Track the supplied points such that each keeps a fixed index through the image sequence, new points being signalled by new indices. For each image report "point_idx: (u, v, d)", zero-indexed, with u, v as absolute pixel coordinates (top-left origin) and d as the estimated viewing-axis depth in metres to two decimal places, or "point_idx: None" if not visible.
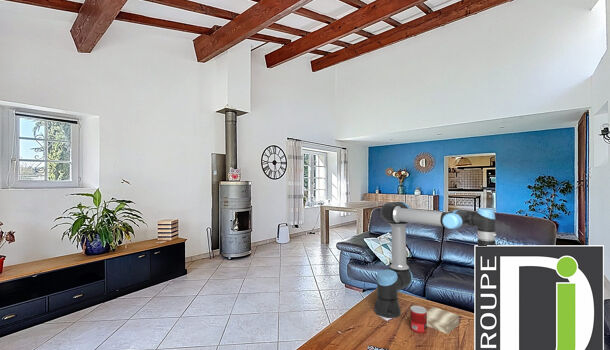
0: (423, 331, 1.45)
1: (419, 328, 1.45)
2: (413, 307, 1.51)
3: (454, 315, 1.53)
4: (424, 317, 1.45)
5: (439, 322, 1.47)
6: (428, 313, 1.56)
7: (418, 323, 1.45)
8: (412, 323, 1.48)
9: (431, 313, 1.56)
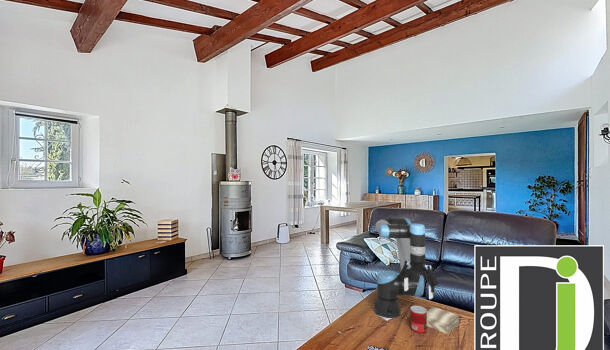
0: (423, 331, 1.45)
1: (419, 328, 1.45)
2: (413, 307, 1.51)
3: (454, 315, 1.53)
4: (424, 317, 1.45)
5: (439, 322, 1.47)
6: (428, 313, 1.56)
7: (418, 323, 1.45)
8: (412, 323, 1.48)
9: (431, 313, 1.56)
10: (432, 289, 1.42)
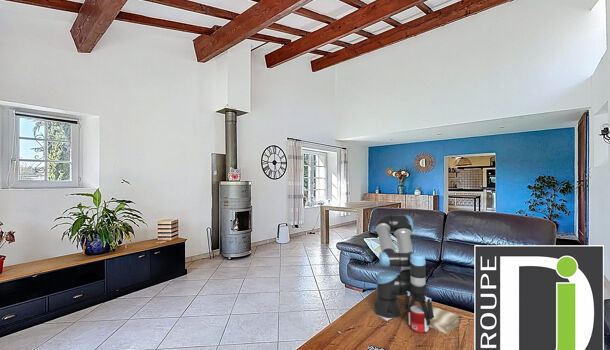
0: (423, 331, 1.45)
1: (418, 328, 1.45)
2: (413, 307, 1.51)
3: (454, 315, 1.53)
4: (424, 317, 1.45)
5: (439, 322, 1.47)
6: None
7: (418, 323, 1.45)
8: (412, 323, 1.48)
9: None
10: (428, 322, 1.44)
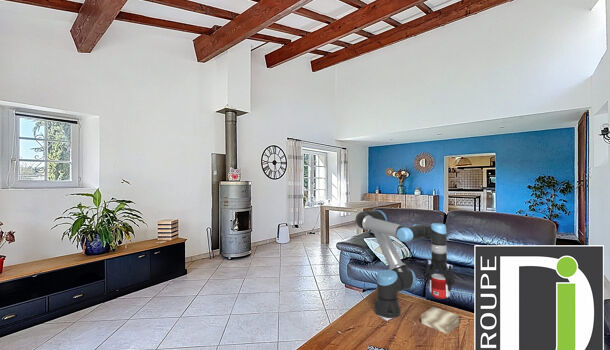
0: (444, 297, 1.51)
1: (440, 294, 1.51)
2: (434, 275, 1.56)
3: (454, 315, 1.53)
4: (445, 283, 1.51)
5: (439, 322, 1.47)
6: (428, 313, 1.56)
7: (439, 289, 1.51)
8: (433, 289, 1.53)
9: (431, 313, 1.56)
10: (449, 288, 1.50)
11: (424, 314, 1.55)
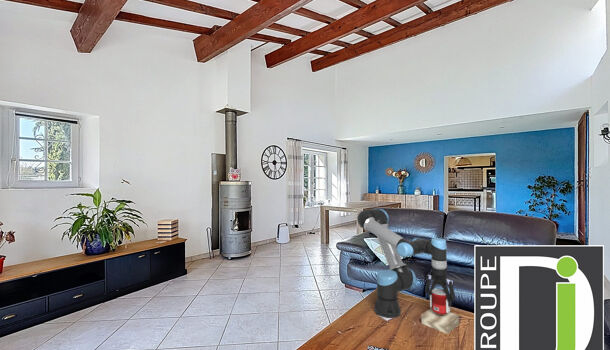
0: (445, 312, 1.50)
1: (440, 310, 1.51)
2: (434, 290, 1.56)
3: (454, 315, 1.53)
4: (446, 299, 1.51)
5: (439, 322, 1.47)
6: (428, 313, 1.56)
7: (439, 304, 1.51)
8: (434, 305, 1.53)
9: (431, 313, 1.56)
10: (449, 303, 1.50)
11: (424, 314, 1.55)
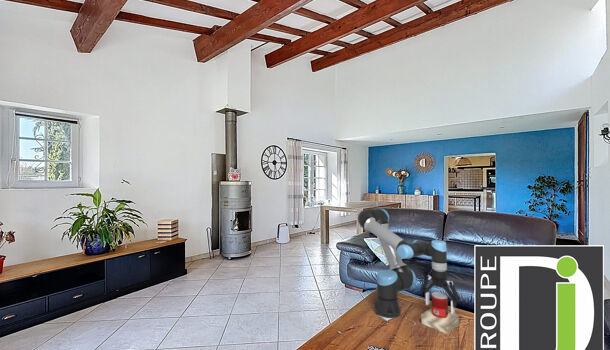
0: (444, 316, 1.50)
1: (440, 313, 1.51)
2: (434, 293, 1.56)
3: (454, 315, 1.53)
4: (445, 302, 1.51)
5: (439, 322, 1.47)
6: (428, 313, 1.56)
7: (439, 308, 1.51)
8: (433, 308, 1.53)
9: (431, 313, 1.56)
10: (454, 304, 1.48)
11: (424, 314, 1.55)
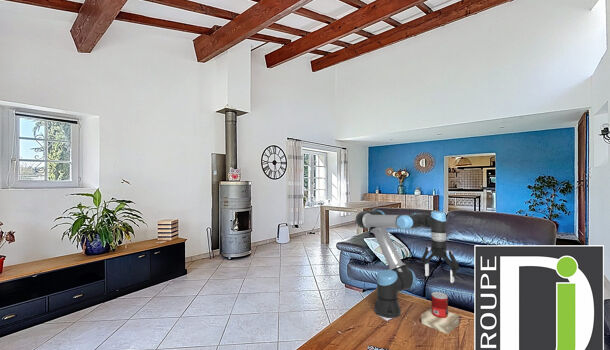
0: (444, 316, 1.50)
1: (440, 313, 1.51)
2: (434, 293, 1.56)
3: (454, 315, 1.53)
4: (445, 302, 1.51)
5: (439, 322, 1.47)
6: (428, 313, 1.56)
7: (439, 308, 1.51)
8: (433, 308, 1.53)
9: (431, 313, 1.56)
10: (453, 273, 1.48)
11: (424, 314, 1.55)
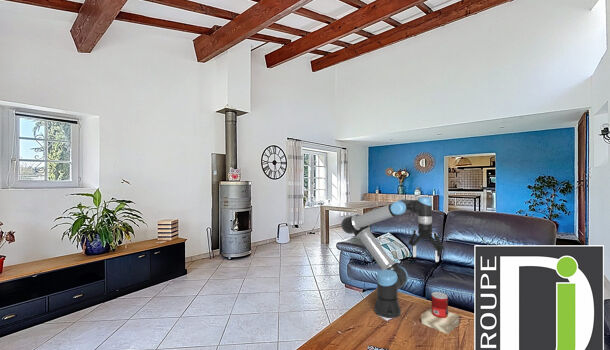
0: (444, 316, 1.50)
1: (440, 313, 1.51)
2: (434, 293, 1.56)
3: (454, 315, 1.53)
4: (445, 302, 1.51)
5: (439, 322, 1.47)
6: (428, 313, 1.56)
7: (439, 308, 1.51)
8: (433, 308, 1.53)
9: (431, 313, 1.56)
10: (438, 253, 1.61)
11: (424, 314, 1.55)
